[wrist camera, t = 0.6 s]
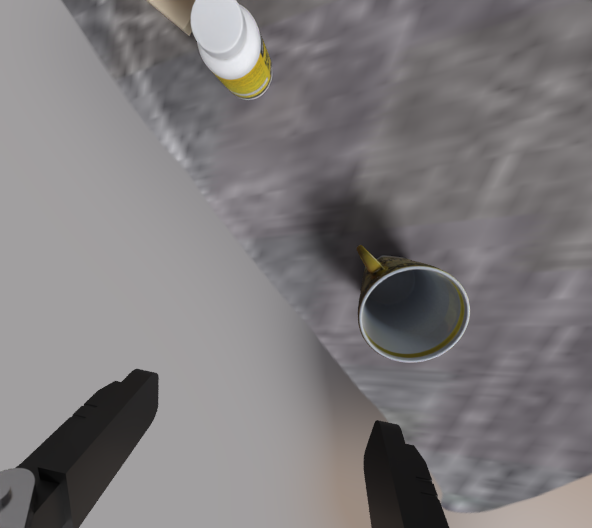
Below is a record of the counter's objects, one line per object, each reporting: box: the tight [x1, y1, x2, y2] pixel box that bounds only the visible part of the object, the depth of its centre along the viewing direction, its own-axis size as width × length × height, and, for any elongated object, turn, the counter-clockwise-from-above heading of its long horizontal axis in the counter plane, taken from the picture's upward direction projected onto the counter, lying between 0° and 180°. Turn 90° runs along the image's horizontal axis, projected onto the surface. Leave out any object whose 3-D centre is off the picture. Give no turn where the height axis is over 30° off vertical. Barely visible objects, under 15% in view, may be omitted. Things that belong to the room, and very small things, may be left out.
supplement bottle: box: [190, 0, 272, 100], centre depth 25 cm, size 5×5×10 cm
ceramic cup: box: [357, 245, 470, 363], centre depth 30 cm, size 13×10×10 cm
